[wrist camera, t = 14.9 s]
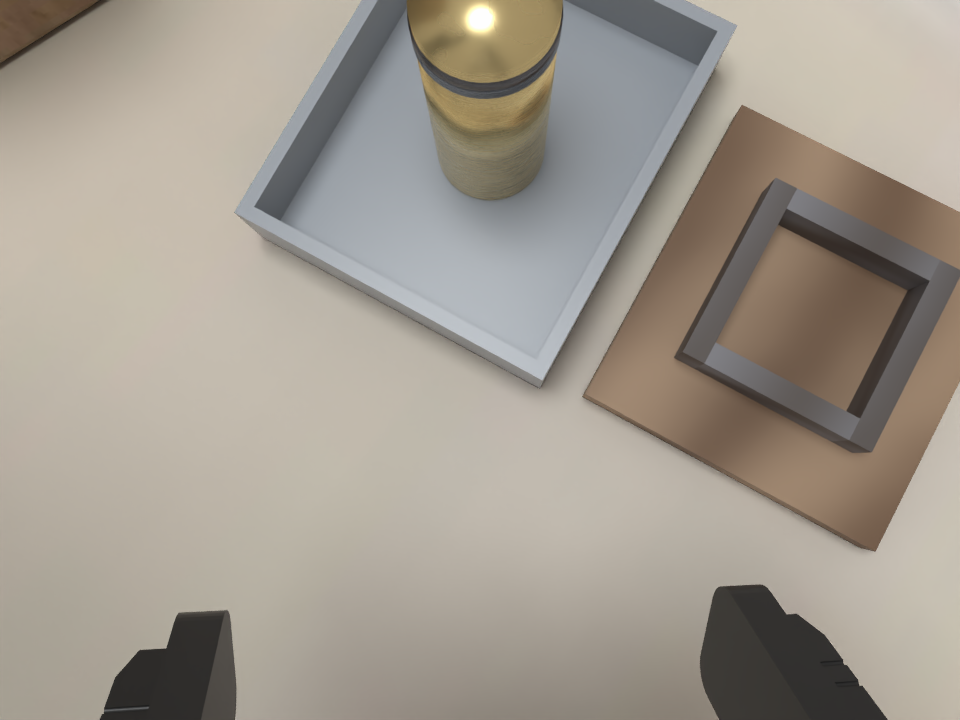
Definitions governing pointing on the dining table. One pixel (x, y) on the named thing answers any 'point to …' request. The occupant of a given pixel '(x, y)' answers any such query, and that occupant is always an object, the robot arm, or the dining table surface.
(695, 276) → the pin dock
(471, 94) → the pin
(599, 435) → the dining table surface
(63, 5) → the wooden block
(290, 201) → the tray
